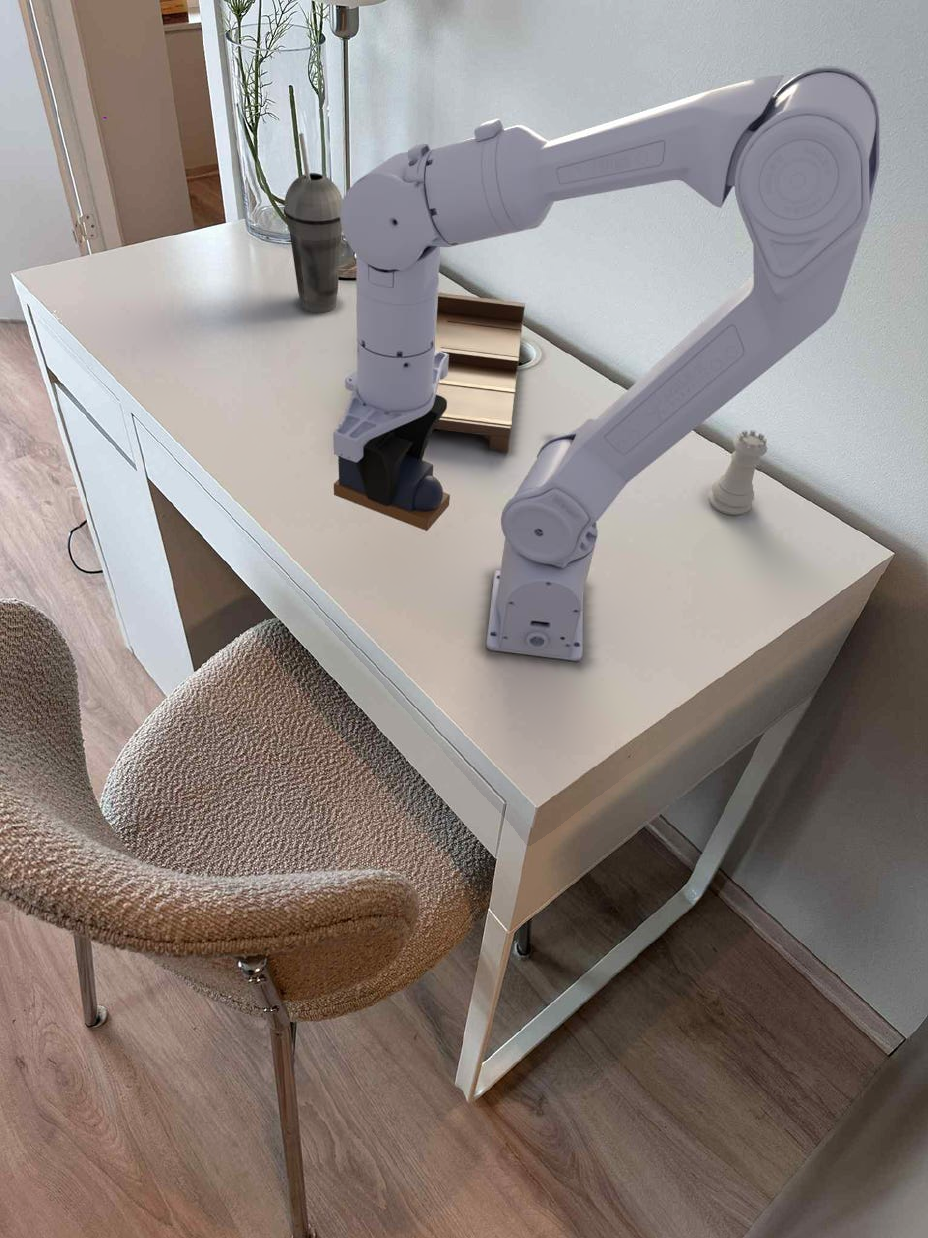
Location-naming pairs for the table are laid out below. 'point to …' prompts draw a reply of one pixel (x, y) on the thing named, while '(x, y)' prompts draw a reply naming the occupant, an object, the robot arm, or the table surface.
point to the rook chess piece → (739, 475)
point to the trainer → (399, 492)
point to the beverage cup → (315, 237)
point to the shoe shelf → (479, 364)
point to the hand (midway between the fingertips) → (392, 486)
